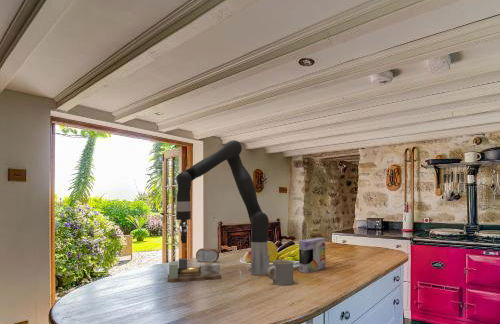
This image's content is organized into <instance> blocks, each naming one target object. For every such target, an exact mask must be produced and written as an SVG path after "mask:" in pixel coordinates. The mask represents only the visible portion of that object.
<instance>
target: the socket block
mask: <svg viewBox="0 0 500 324" xmlns="http://www.w3.org/2000/svg"><path fill="white" fill-rule="evenodd" d="M178 268H179V262H178V261H170V262H168V275H169V279H173V278H178Z"/></svg>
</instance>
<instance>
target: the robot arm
mask: <svg viewBox="0 0 500 324" xmlns="http://www.w3.org/2000/svg"><path fill="white" fill-rule="evenodd" d="M242 149H243V147H242V143H241V142H239V141H238V140H236V139H234V140H229V141H227V142H226V143H225V144H224V146H223V147H222V148H220V149H219V150H217V151H215V153H212V154H210V155H209V156H207V157H204V158H203V159H201V160H200V161H198V162H195V164H194V165H192V166H190V167H189V168H187V169H185V170H183V171H181V172H180V173H178V174H177V175H176V178H175V182H176V183H177V192H176V204H175V214H176V215H175V219H176V220H177V221H179V232H180V242H181V244H187V235H188V233H187V232H188V225H189V224H188V223H187V221H188V220H191V219H192V207H191V206H192V205H191V189H192V181H194V180H195V179H197V178H200V177H202V176H204V175H205V174H207V173H208V172H210V171H211V170H213V169H214V168H216V166H218V165H220V164H221V163H223V162H225V161H227V163H228V166H229V168H230V170H231V173H232V176H233V179H234V182H235V185H236V188H237V189H238V192H239V195H240V197H241V199H242V201H243V204H244V206H245V208H246V211H247V215H248V219H249V223H250V225H251V237H250V274H251V275H252V276H268V275H267V271H268V268H269V267H270V255H269V249H268V248H269V244H268V243H269V241H268V239H269V235H270V234H269V233H270V232H269V231H270V229H269V227H270V221H269V217H268V215H267V214H266V213H265V212H264V211H263V210H262V209H261V207H260V204H259V202H258V201H259V200H258V195H257V191H256V186H255V183H254V181H253V179H252V176H251V174H250V173H249V171H248V170H247V169H246V168H245V166H244V164H243V162H242V159H241V157H240V154H241V152H242V151H243V150H242Z"/></svg>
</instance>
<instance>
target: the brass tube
mask: <svg viewBox="0 0 500 324" xmlns="http://www.w3.org/2000/svg"><path fill="white" fill-rule="evenodd" d="M197 273H201V267H200V266H193V267H191V266H190V267H188V258H187V257H185V258H181V257H180V258H178V275H180V274H197Z"/></svg>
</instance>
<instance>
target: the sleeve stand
mask: <svg viewBox="0 0 500 324" xmlns="http://www.w3.org/2000/svg"><path fill="white" fill-rule="evenodd" d="M220 266H221V265H220V264H219V262H217V263H215V262H212V263H199V267H201V273H197V274H180V275H178V278H173V279H169V274H167V283H178V282H179V283H180V282H194V281H196V282H197V281H198V282H199V281H213V280H222V274H221V273H220V272H221V270H220Z"/></svg>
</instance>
